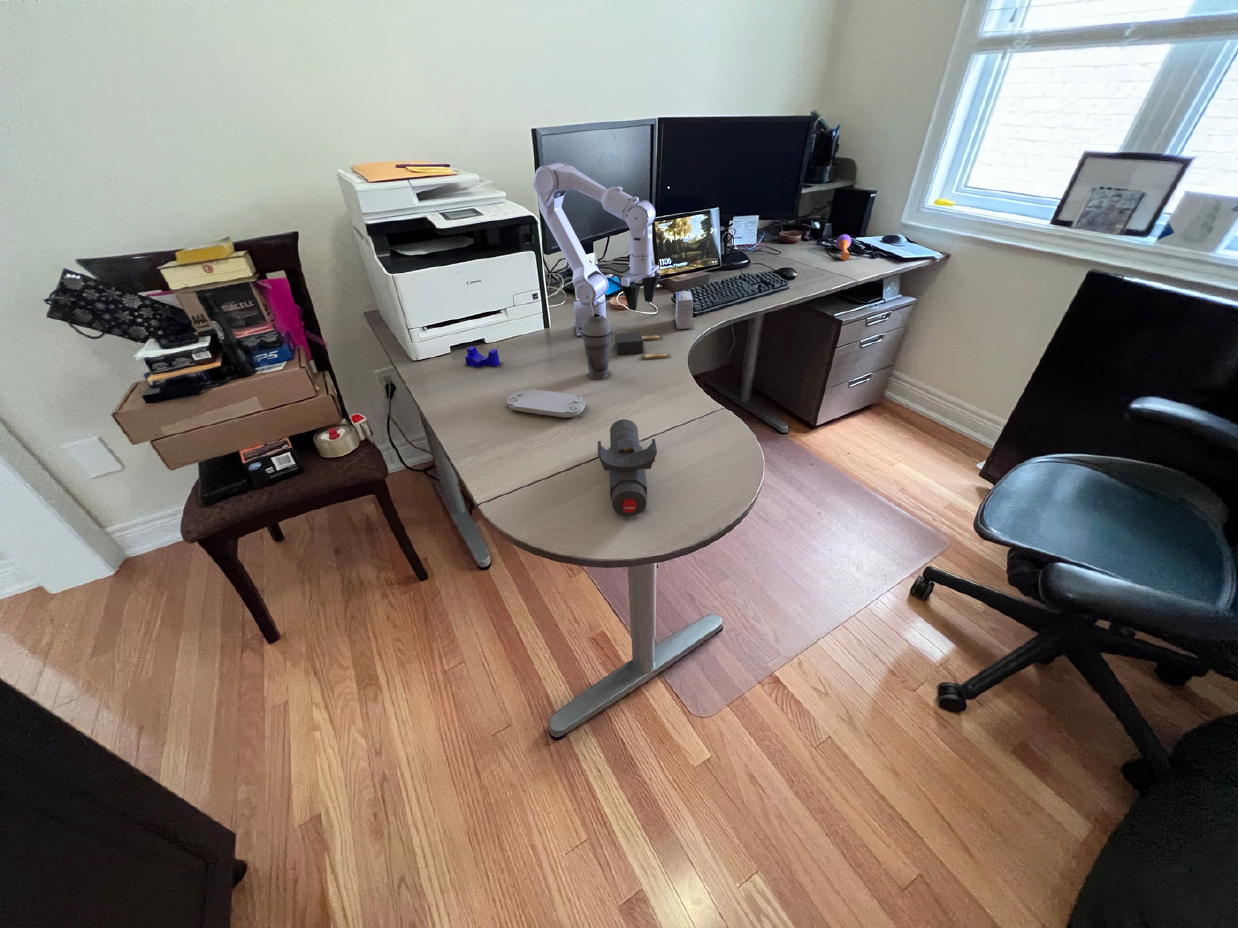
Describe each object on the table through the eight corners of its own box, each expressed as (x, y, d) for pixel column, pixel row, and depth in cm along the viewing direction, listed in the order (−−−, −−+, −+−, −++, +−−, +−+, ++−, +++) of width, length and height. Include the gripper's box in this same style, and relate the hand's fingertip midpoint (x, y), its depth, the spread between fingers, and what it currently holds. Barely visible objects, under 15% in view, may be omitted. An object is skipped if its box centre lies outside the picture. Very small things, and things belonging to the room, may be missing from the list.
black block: (617, 354, 133) (617, 342, 131) (615, 345, 138) (614, 333, 136) (643, 353, 134) (643, 340, 131) (640, 343, 138) (640, 332, 136)
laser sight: (648, 442, 100) (648, 400, 94) (658, 520, 82) (660, 473, 76) (600, 444, 100) (597, 402, 94) (600, 522, 82) (597, 476, 76)
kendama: (837, 250, 194) (835, 233, 209) (836, 265, 198) (835, 248, 212) (854, 247, 192) (851, 231, 206) (853, 263, 196) (850, 246, 210)
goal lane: (645, 359, 131) (645, 356, 130) (638, 338, 141) (638, 336, 141) (667, 357, 131) (667, 355, 131) (658, 337, 142) (658, 335, 141)
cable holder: (466, 365, 130) (463, 351, 128) (473, 359, 133) (470, 346, 131) (493, 369, 128) (490, 355, 126) (499, 363, 131) (497, 349, 128)
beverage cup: (609, 383, 121) (606, 302, 108) (581, 380, 122) (574, 300, 110) (615, 369, 126) (613, 291, 114) (588, 367, 127) (582, 290, 115)
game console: (589, 394, 112) (576, 412, 105) (589, 403, 113) (577, 422, 107) (517, 385, 116) (501, 402, 110) (518, 394, 117) (502, 411, 111)
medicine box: (691, 329, 146) (693, 300, 140) (676, 329, 146) (678, 300, 141) (689, 319, 152) (691, 291, 147) (674, 319, 152) (676, 291, 147)
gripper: (636, 263, 122) (636, 316, 130) (669, 250, 131) (667, 300, 139) (614, 259, 125) (615, 311, 134) (647, 246, 134) (646, 296, 143)
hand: (640, 305), depth 137 cm, fingers open, 7 cm apart
